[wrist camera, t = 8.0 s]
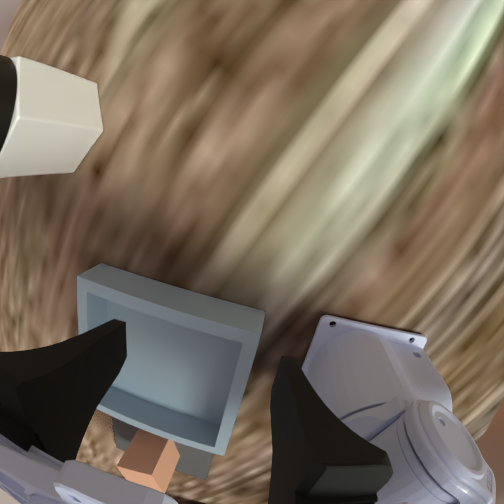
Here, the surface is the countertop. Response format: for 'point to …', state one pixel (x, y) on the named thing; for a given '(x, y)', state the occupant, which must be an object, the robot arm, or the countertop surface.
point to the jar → (45, 118)
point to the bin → (173, 355)
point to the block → (149, 460)
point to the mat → (190, 457)
